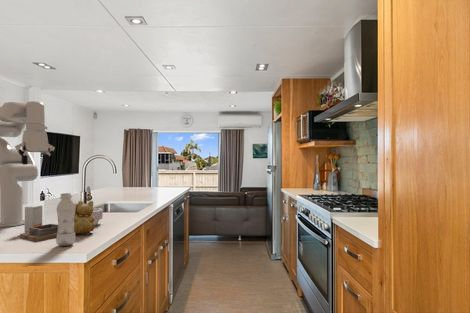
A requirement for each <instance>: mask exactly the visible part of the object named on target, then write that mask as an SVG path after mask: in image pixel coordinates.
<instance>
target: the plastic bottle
mask: <svg viewBox="0 0 470 313" xmlns="http://www.w3.org/2000/svg"><path fill="white" fill-rule="evenodd" d="M72 198H73V196H72V193H67V192H66V193H60V198H59V199H61V200H60V201H59V202H58V204H57V205H56V213H57V214H56V217H57V225H58V232H57V237H56V239H55V242H56V245H57V246H59V247H67V246H71V245H73V244H75V241H76V235H75V232H74V215H75V208H76V206H75V204H76V203H74V202H73V200H72Z"/></svg>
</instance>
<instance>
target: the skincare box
mask: <svg viewBox="0 0 470 313" xmlns="http://www.w3.org/2000/svg"><path fill="white" fill-rule="evenodd" d="M24 220H25V224H24V233H28V232H29V227H35V226H41V225H43V205H36V204H35V205H29V206H24Z"/></svg>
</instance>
